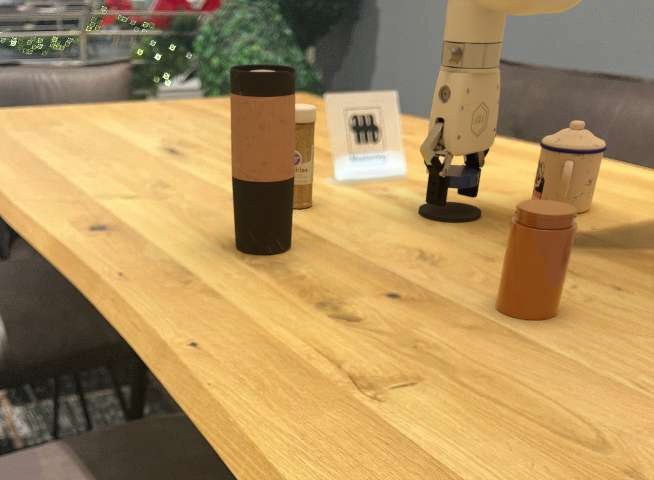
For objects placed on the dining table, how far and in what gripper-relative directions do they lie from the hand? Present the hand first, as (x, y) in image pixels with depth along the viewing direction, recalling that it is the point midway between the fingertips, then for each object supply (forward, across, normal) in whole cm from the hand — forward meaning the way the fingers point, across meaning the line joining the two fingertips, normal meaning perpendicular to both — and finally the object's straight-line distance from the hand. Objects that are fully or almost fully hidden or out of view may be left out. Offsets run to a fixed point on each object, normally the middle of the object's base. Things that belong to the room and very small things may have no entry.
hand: (451, 199), depth 110 cm
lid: (-4, 0, 0) cm, 4 cm away
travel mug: (+2, -31, +6) cm, 31 cm away
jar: (+2, -24, -28) cm, 37 cm away
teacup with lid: (+2, +15, -9) cm, 17 cm away
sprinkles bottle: (+2, -14, +18) cm, 22 cm away
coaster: (+2, 0, 0) cm, 2 cm away
